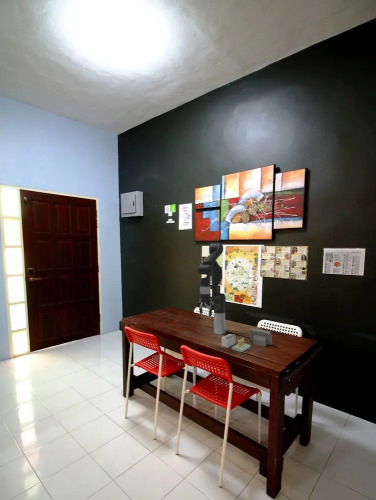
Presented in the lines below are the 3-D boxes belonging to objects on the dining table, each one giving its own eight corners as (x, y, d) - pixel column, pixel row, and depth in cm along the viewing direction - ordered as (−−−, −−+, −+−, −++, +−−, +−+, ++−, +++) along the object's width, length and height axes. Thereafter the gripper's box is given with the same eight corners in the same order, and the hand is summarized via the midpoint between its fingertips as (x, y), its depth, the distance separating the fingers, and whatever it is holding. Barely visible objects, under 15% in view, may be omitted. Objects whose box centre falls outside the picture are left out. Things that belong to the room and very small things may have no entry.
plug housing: (229, 342, 181) (229, 333, 181) (235, 343, 178) (235, 334, 178) (221, 345, 174) (221, 336, 174) (227, 347, 171) (227, 338, 171)
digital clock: (273, 345, 175) (273, 330, 175) (268, 348, 169) (268, 333, 169) (253, 339, 187) (253, 325, 187) (247, 342, 180) (247, 328, 180)
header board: (240, 344, 177) (240, 335, 177) (250, 347, 171) (250, 338, 171) (231, 349, 168) (231, 339, 168) (241, 352, 163) (241, 342, 163)
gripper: (216, 293, 170) (216, 315, 171) (201, 290, 181) (201, 312, 181) (209, 294, 165) (209, 318, 165) (194, 292, 175) (194, 314, 176)
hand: (205, 314), depth 173 cm, fingers open, 8 cm apart
